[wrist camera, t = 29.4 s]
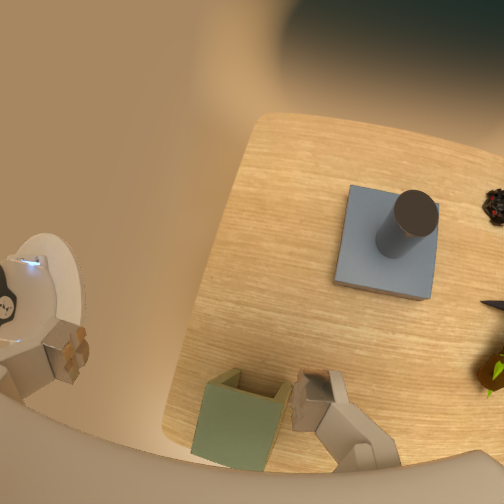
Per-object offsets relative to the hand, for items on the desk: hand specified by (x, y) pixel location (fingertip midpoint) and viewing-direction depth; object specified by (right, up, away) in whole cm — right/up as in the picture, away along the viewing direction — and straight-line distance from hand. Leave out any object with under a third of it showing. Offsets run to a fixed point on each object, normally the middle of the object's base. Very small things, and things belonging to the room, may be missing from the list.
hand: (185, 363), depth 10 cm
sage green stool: (+3, -16, +26) cm, 31 cm away
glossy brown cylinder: (+19, +5, +23) cm, 30 cm away
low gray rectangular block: (+20, +5, +27) cm, 34 cm away
